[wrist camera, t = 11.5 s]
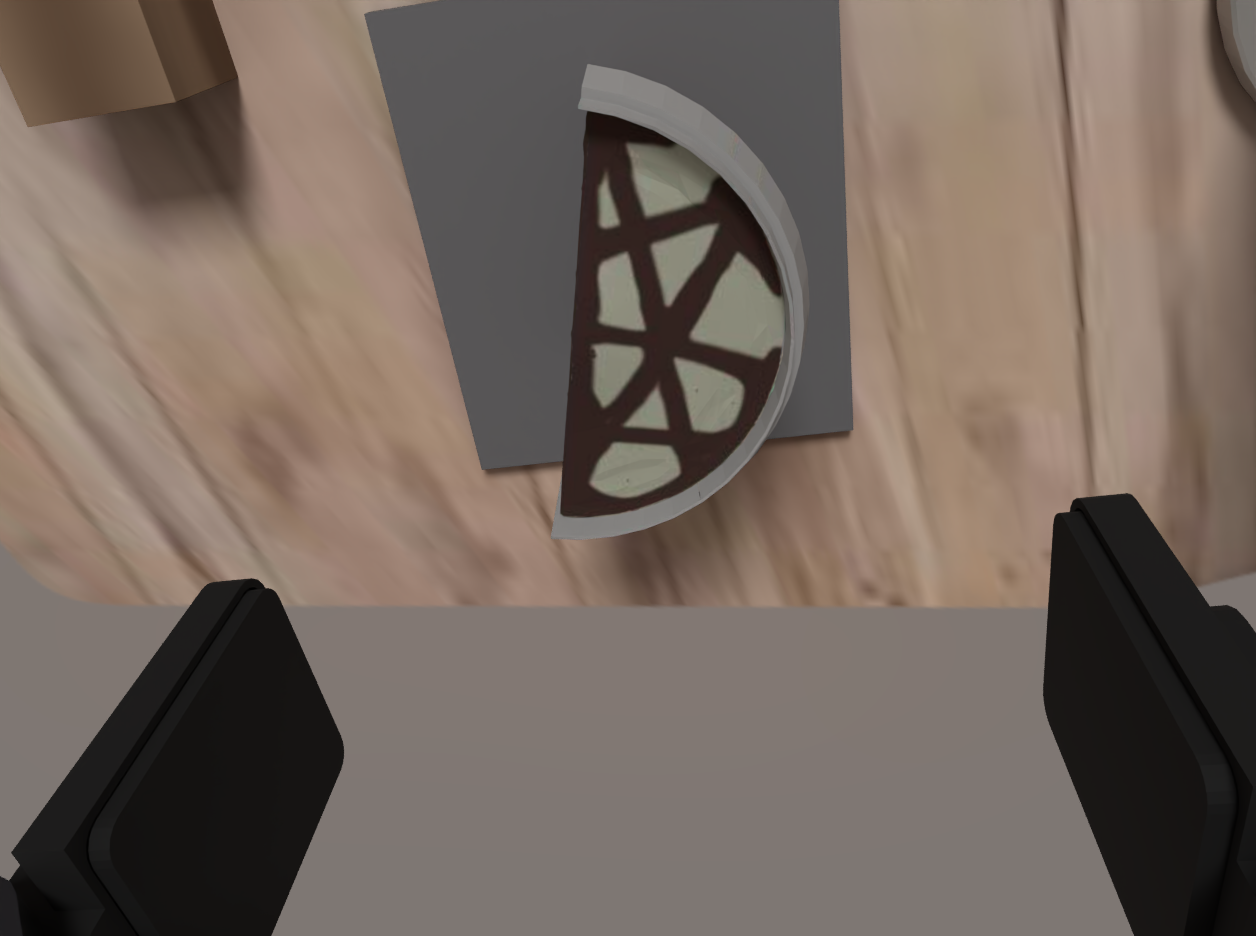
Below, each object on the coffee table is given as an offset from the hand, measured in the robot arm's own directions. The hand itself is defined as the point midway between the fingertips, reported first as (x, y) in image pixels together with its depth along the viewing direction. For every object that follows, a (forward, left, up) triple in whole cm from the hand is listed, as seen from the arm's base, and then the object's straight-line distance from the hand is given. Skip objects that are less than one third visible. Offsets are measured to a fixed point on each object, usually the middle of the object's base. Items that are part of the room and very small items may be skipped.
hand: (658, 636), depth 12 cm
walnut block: (+15, -7, -23) cm, 29 cm away
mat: (+1, +2, -23) cm, 23 cm away
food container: (0, +2, -23) cm, 23 cm away
